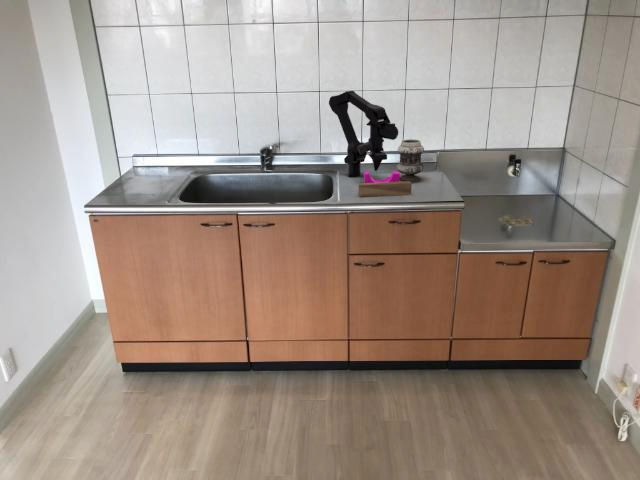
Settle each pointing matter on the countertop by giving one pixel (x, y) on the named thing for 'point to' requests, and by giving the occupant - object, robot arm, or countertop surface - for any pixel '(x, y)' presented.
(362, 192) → the walnut board
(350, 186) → the countertop surface
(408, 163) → the apothecary jar
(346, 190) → the countertop surface
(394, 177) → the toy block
